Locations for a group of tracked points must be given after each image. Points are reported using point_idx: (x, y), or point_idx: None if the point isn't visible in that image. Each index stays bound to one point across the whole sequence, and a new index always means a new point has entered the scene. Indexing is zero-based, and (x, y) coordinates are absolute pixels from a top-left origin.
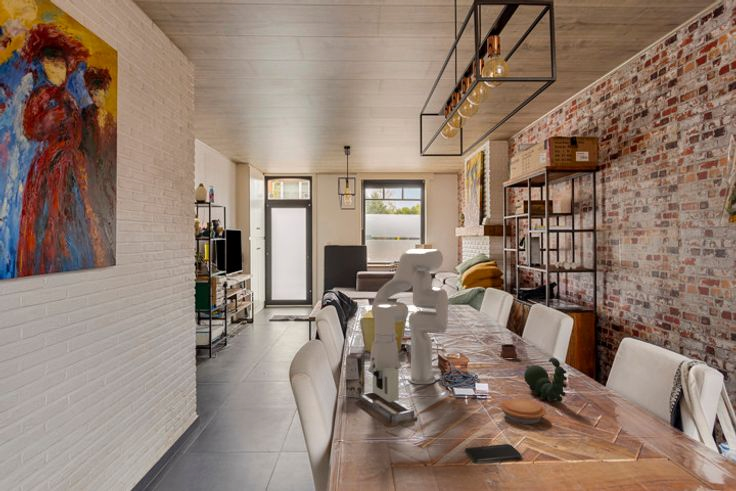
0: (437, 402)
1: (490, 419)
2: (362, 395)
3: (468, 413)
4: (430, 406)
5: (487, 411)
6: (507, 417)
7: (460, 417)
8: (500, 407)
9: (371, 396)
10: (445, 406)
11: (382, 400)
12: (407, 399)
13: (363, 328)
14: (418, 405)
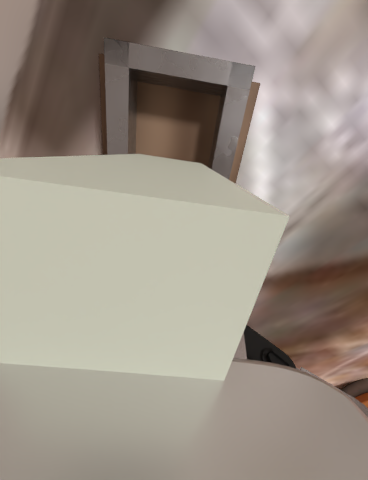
0: (351, 263)
1: (319, 376)
2: (114, 79)
3: (323, 344)
4: (306, 272)
5: (360, 356)
6: (345, 390)
7: (289, 346)
8: (363, 400)
9: (184, 84)
10: (333, 294)
11: (211, 148)
12: (316, 180)
13: None
14: (289, 246)
